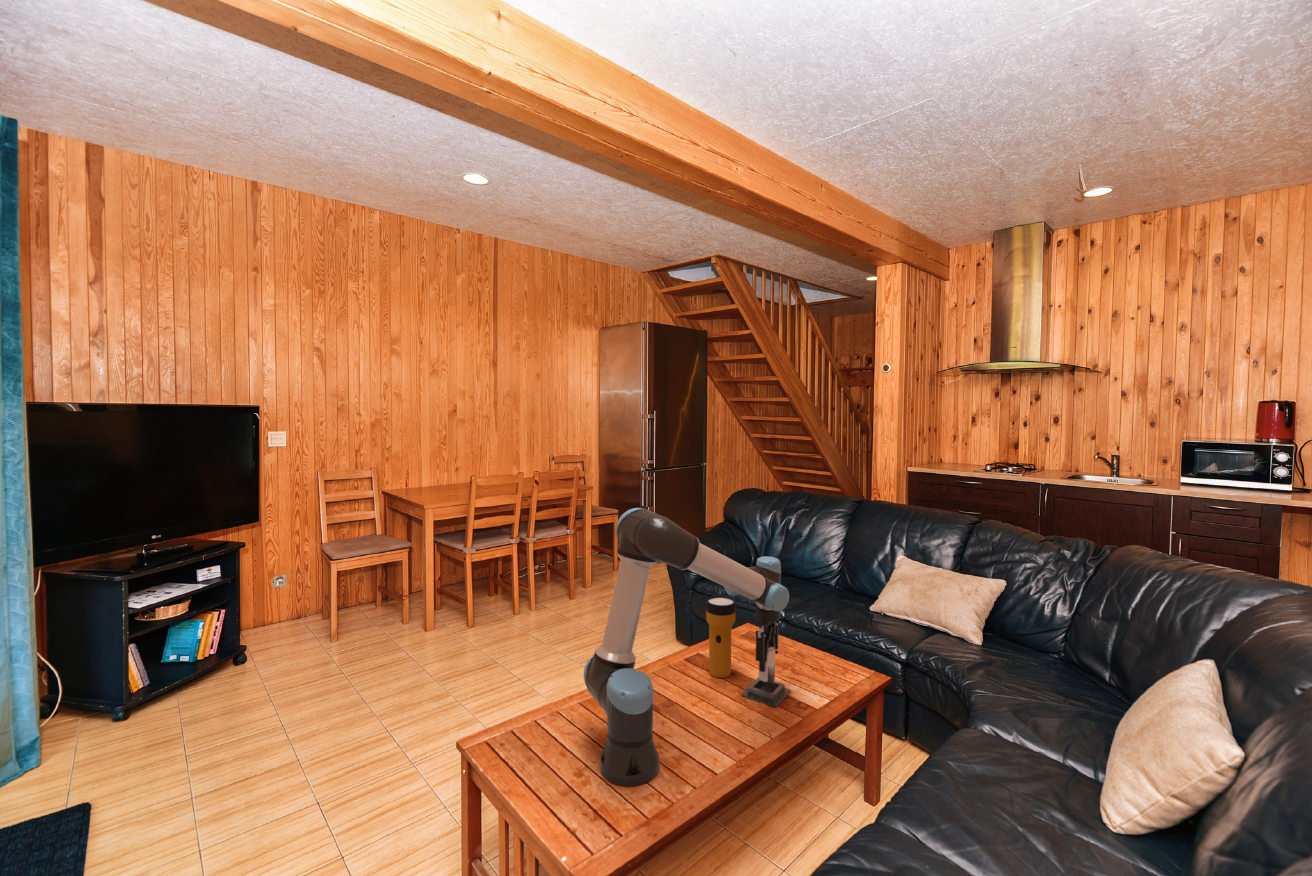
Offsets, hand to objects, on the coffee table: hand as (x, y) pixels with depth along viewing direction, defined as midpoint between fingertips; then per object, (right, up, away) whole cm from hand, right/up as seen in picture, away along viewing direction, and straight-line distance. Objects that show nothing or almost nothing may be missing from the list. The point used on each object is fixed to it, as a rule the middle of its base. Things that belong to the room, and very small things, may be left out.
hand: (766, 676), depth 181 cm
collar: (0, -6, 0) cm, 6 cm away
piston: (0, -1, 0) cm, 1 cm away
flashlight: (-13, -5, +14) cm, 20 cm away
